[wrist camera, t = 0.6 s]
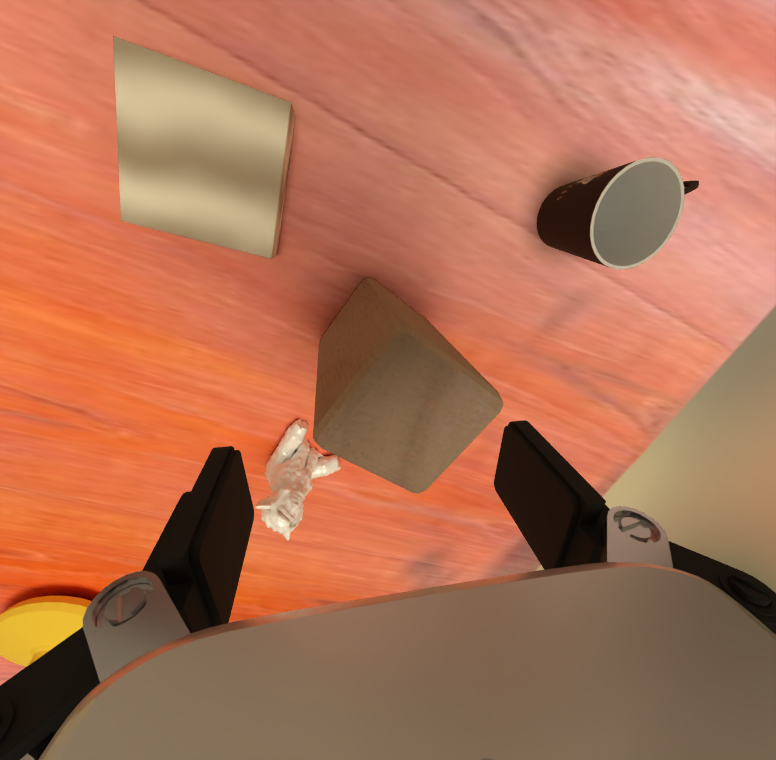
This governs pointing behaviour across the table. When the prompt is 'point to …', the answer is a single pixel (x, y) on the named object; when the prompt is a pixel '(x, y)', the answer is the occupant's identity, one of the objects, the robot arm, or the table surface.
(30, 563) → the table surface
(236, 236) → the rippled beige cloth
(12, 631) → the vase
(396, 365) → the block
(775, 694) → the robot arm
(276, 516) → the seated beast figurine
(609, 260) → the coffee mug
